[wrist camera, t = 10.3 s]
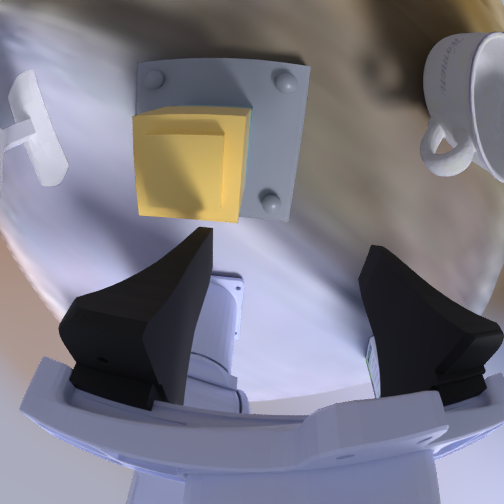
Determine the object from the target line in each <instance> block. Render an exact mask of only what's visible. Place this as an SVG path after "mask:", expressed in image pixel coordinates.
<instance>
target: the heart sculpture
mask: <svg viewBox="0 0 504 504" xmlns="http://www.w3.org/2000/svg"><path fill="white" fill-rule="evenodd" d="M8 101H9V104H10V107H11V111H12V114H13V117H14V120H15V123H16V124H14V125H12V126H9V127H7V128H4V129H1V128H0V196H1V187H2V171H3V153H4V152H5V151H7V150H9V149H11V148H14V147H16V146H18V145H20V144H22V143H23V144H24V147H25V149H26V152H27V154H28V157H29V159H30V161H31V164H32V166H33V168H34V170H35V172H36V175H37V177H38V179H39V181H40V183H41V185H42V186H56V185H59V184H60V183H61V181H62V180H63V178H64V176H65V174H66V172H67V170H68V167H69V164H68V162H67V159H66V157H65V155H64V153H63V150H62V148H61V146H60V144H59V141H58V139H57V136H56V134H55V131H54V129H53V126H52V124H51V121H50V119H49V116H48V113H47V111H46V108H45V105H44V102H43V99H42V96H41V93H40V90H39V87H38V84H37V81H36V77H35V74H34V70H33V69H31V70H27V71H25V72H23V73H21V74H20V75H18V76H17V78H16V79H15V81H14V83H13V85H12V87H11V89H10V92H9V95H8Z"/></svg>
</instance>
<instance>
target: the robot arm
mask: <svg viewBox="0 0 504 504" xmlns="http://www.w3.org/2000/svg"><path fill="white" fill-rule="evenodd" d="M212 267H213V228H207V227H198V228H197V229H196V230H195V231H194V232H192V233H191V234H190V235H189V236H188V237H187V238H186V239H185V240H184V241H182V242H181V243H180V244H179V245H178V246H177V247H175V248H174V249H173V250H172V251H170V252H169V253H168V254H167V255H165V256H164V257H163V258H161V259H160V260H159V261H157V262H156V263H154V264H153V265H151V266H149V267H148V268H146V269H144V270H143V271H141V272H139V273H137V274H135V275H133V276H131V277H129V278H128V279H126V280H124V281H121V282H119V283H117V284H115V285H112V286H110V287H107V288H105V289H102V290H99V291H96V292H93V293H89V294H86V295H83V296H79V297H76V299H75V300H74V302H73V303H72V305H71V306H70V308H69V310H68V311H67V313H66V314H65V316H64V318H63V319H62V321H61V323H60V325H59V334H60V337H61V339H62V341H63V343H64V344H65V346H66V348H67V349H68V350H69V352H70V354H71V355H72V357H73V358H74V360H75V361H76V365H75V367H74V369H72V368H70V367H69V366H67V365H66V364H64V363H61V362H58V361H56V360H53V359H51V358H48V357H45V356H44V357H43V358H42V360H41V362H40V364H39V366H38V368H37V370H36V372H35V374H34V376H33V378H32V381H31V383H30V385H29V387H28V389H27V391H26V394H25V396H24V398H23V401H22V403H21V406H20V408H19V409H20V411H21V412H22V413H23V414H24V415H25V416H27V417H28V418H29V419H31V420H32V421H34V422H35V423H36V424H37V425H39V426H40V427H41V428H43V429H44V430H46V431H47V432H48V433H50V434H51V435H53V436H55V437H56V438H59V439H60V440H62V441H64V442H66V443H69V444H71V445H73V446H75V447H77V448H79V449H81V450H84V451H86V452H88V453H91V454H93V455H95V456H98V457H100V458H103V459H105V460H108V461H110V462H113V463H116V464H119V465H122V466H124V467H127V468H130V469H133V470H134V475H133V479H132V482H131V486H130V490H129V494H128V499H127V502H126V504H440V495H439V487H438V480H437V473H436V467H435V462H434V461H435V460H437V459H439V458H442V457H444V456H447V455H449V454H451V453H453V452H456V451H458V450H460V449H462V448H464V447H466V446H468V445H470V444H472V443H474V442H476V441H478V440H480V439H482V438H484V437H485V436H487V435H488V434H490V433H491V432H493V431H494V430H496V429H497V428H499V427H500V426H502V425H503V424H504V377H503V375H502V373H498V374H495V375H492V376H490V377H488V378H486V379H485V380H484V378H483V375H482V374H484V373H485V368H484V364H485V363H486V362H487V361H488V360H489V359H490V358H491V357H492V355H493V354H494V353H495V352H496V351H497V350H498V349H499V347H500V346H501V344H502V342H503V338H504V334H503V332H502V330H501V328H500V326H499V325H498V324H497V323H496V322H493V321H491V320H489V319H486V318H484V317H482V316H479V315H477V314H475V313H473V312H471V311H469V310H467V309H466V308H464V307H462V306H460V305H459V304H457V303H455V302H454V301H452V300H451V299H449V298H448V297H446V296H445V295H443V294H442V293H440V292H439V291H438V290H436V289H435V288H433V287H432V286H431V285H430V284H428V283H427V282H426V281H425V280H423V279H422V278H421V277H420V276H419V275H417V274H416V273H415V272H414V271H413V270H412V269H410V268H409V267H408V266H407V265H406V264H405V263H403V262H402V261H401V260H400V259H399V258H398V257H396V256H395V255H394V254H393V253H391V252H390V251H389V250H387V249H386V248H385V247H383V246H376V245H371V247H370V250H369V253H368V256H367V258H366V261H365V264H364V266H363V269H362V271H361V274H360V276H359V279H358V280H359V286H360V291H361V296H362V300H363V303H364V306H365V310H366V313H367V316H368V319H369V322H370V325H371V328H372V332H373V335H374V339H375V343H376V349H377V356H378V364H379V374H380V398H374V399H365V400H354V401H349V402H343V403H336V404H333V405H330V406H327V407H324V408H321V409H318V410H317V411H315V412H314V413H312V414H311V415H260V414H251V409H250V404H249V402H248V399H247V396H246V394H245V393H244V392H243V391H242V390H239V389H237V379H238V378H237V377H234V376H232V375H231V366H232V357H233V347H234V341H236V340H238V339H239V332H240V321H241V310H242V299H243V288H244V281H243V280H242V279H240V278H232V277H222V276H212V275H211V272H212ZM237 286H239V287H240V288H238V287H237Z"/></svg>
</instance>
